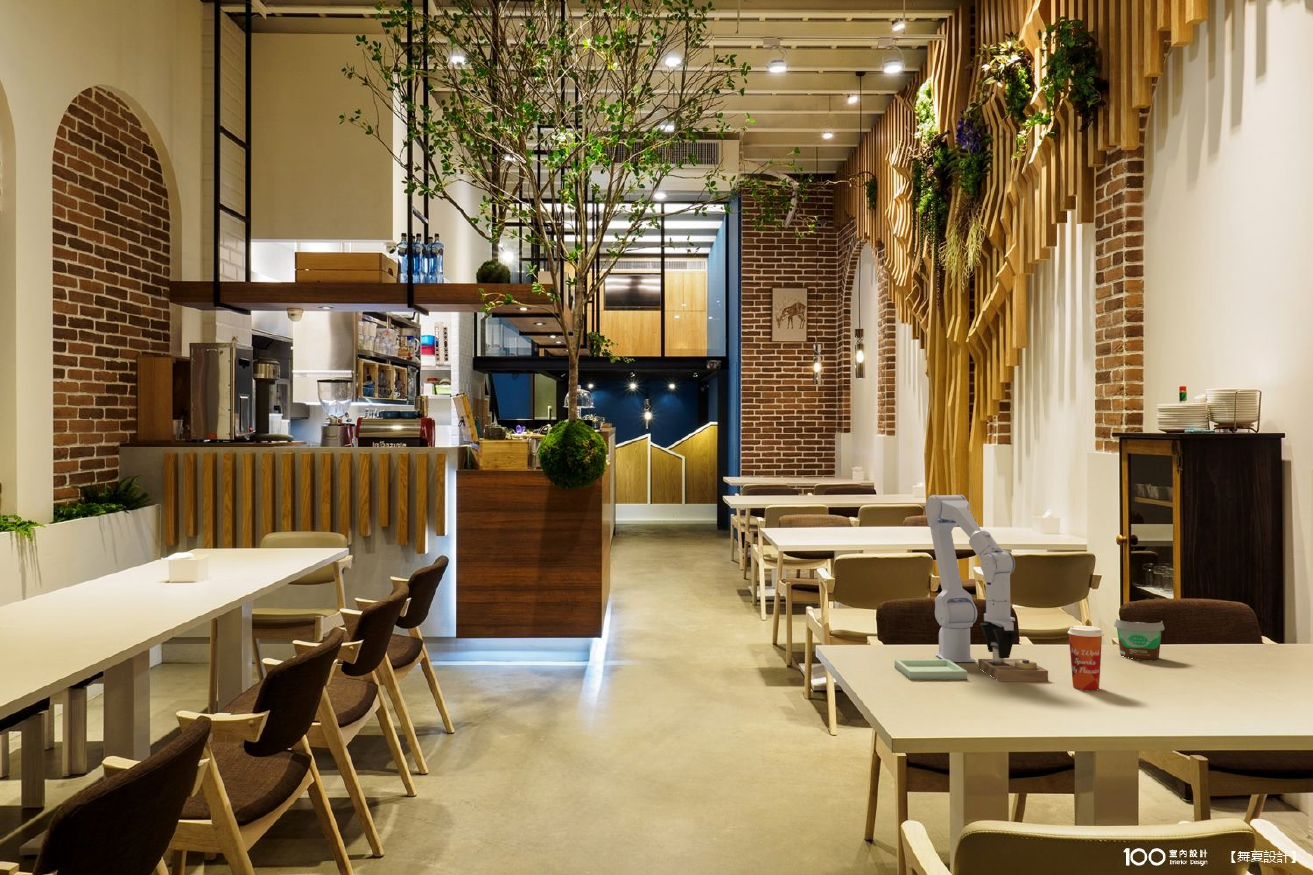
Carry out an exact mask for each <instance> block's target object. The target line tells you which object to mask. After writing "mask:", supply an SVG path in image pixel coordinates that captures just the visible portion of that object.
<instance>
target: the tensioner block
mask: <svg viewBox="0 0 1313 875" xmlns="http://www.w3.org/2000/svg"><path fill="white" fill-rule="evenodd" d="M977 666H978V668H979V669H978V668H977V669H978V670H980V669H981V670H983V671H984V672H986V673H987V674H986V673H985V674H986V675H988V676H989V675H991V676H992V677H991V676H990V677H991V678H993V677H994V678H995V679H994V678H993V679H994V680H996V679H997V680H998V682H1049V670H1047V669H1045V668H1044V667H1042V666H1040V665H1038V664H1037V662H1035V661H1031V660H1029V659H1026V658H1005V666H993V658H978V659H977ZM981 670H980V671H981ZM983 671H982V672H983ZM984 672H983V673H984ZM997 680H996V681H997Z"/></svg>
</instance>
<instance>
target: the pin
mask: <svg viewBox="0 0 1313 875" xmlns="http://www.w3.org/2000/svg"><path fill="white" fill-rule="evenodd" d="M991 646H993V652H992V659H993V666H1005V659H1006V658H1000V656H999V651H998V643H997V641H992V642H991Z"/></svg>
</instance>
